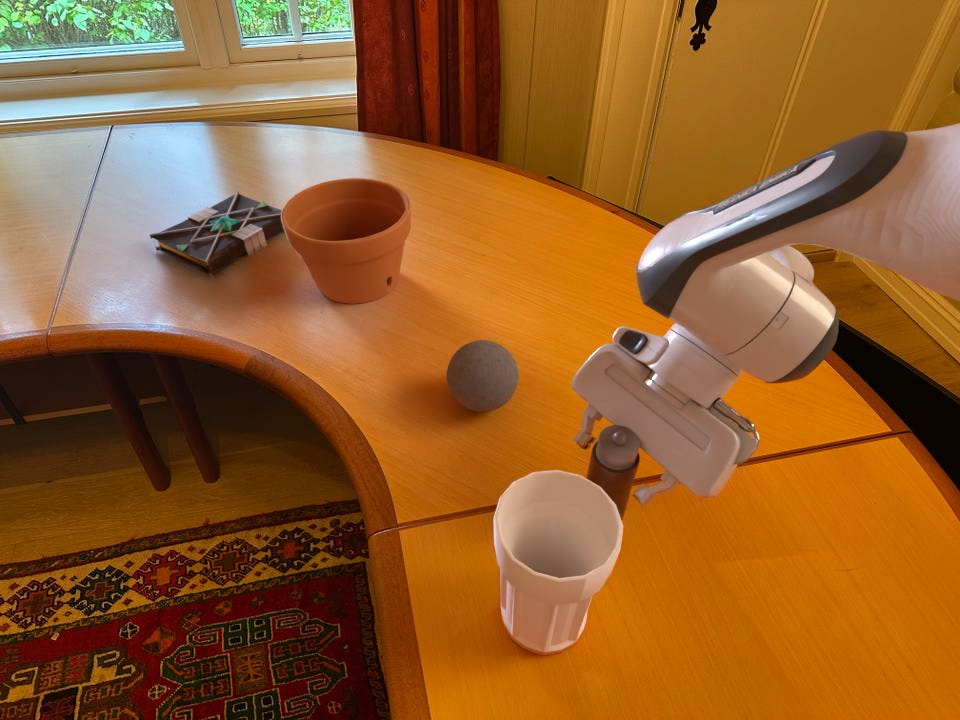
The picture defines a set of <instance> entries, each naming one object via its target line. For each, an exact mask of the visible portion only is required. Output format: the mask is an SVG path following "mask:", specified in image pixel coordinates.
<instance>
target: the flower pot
mask: <svg viewBox="0 0 960 720" xmlns="http://www.w3.org/2000/svg"><path fill="white" fill-rule="evenodd" d="M411 209H412V205H411V201H410V198H409V197H408V195H407V194H406V193H405V192H404V190H402V189H401V188H399V187H398V186H396V185H394V184H392V183H390V182H386V181H382V180H378V179H375V178H374V179H373V178H365V177H351V178H339V179H332V180H328V181H324V182H320V183H317V184H314V185H312V186H309V187H306V188H304V189H303V190H301V191H299V192H297V193H296V194H294V195H293V196H292V197H291V198H290V199H288V200H287V201H286V203H285V204H284V205H283V207H282V209H281V210H282V211H281V222H282V225H283V228H284V231H283V232H284V234H285V237H286V239H287V242H288V244H289V246H290V248H291V249H292V250H293V251H294V252H295V253H296V254H298V255H299V256H300V258H301V261H302V262H303V263H304V265H305V267H306V268H307V271H308V272H309V274H310V276H311V279H312V280H313V282H314V283H315V285H316V287H317V288H318V290H319V291H320V292H321V294H322V295H324V296H325V297H326V298H328V299H330V300H332V301H334V302H337V303H342V304H348V305H350V304H353V305H354V304H355V305H357V304H364V303H365V304H366V303H371V302H373V301H376V300H379V299H381V298H382V297H385V296H386V295H388V294H389V293H390V292H391V291H393V290H394V288H395V287H396V285H397V283H398V281H399V277H400V274H401V273H400V272H401V268H402V267H401V266H402V261H403V257H404V250H405V245H406V240H407V238H408V237H409V236H410V232H411V229H412V210H411Z"/></svg>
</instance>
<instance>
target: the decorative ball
mask: <svg viewBox="0 0 960 720" xmlns="http://www.w3.org/2000/svg"><path fill="white" fill-rule="evenodd" d="M446 370H447V371H446V383H447V387H448V391H449V392H450V394H451V396H452V397H453V399H454V401H456V402H457V403H458V404H459V405H460V406H462V407H464V408H465V409H467V410H469V411H473V412H476V413H477V412H478V413H488V412H493V411H495V410H498V409H500V408H502V407H503V406H505V405H506V404H507V403H508V402H509V401H510V400H511V399H512V398H513V396H514V394H515V393H516V390H517V388H518V384H519V367H518V365H517V362H516V360H515V358H514V357H513V355H512V353H511V352H510V351H509V350H508V348H506V347H504V346H503V345H502V344H499V343H497V342H495V341H493V340H488V339H487V340H486V339H480V340H472V341H470V342H467V343H466V344H464V345H462V346H461V347H459V349H457V350H456V351H455V352H454V354H452V357H451V358H450V360H449V362H448V365H447V368H446Z"/></svg>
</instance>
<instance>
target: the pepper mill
mask: <svg viewBox="0 0 960 720" xmlns="http://www.w3.org/2000/svg"><path fill="white" fill-rule="evenodd" d="M640 449H641V448H640V440H639V438H638V436H637V435H636V434H635V433H634V432H633V431H632V430H631V429H629V428H627V427H625V426H621V425H613V424H612V425H608V426H606V427H604V428H602V430H601V431H600V432H599V434H598V437H597V441H596V442H594V443H593V446H592V449H591V454H590V459H589V463H588V468H587V473H586V477H585V478H586V479H588V480H589V481H591V482H593V483H595V484H596V485H598V486H600V487H601V488H602V489H603V490H604V491H605V493H606V494H607V495H608V496H609V497H610V499H611V500H612V501H613V502H614V503H615V504H616V507H617V509H618V512H619V515H620V518H621V521H622V522H623V519H624V515H625V512H626V509H627V505H628V502H629V498H630V495H631V493H632V488H633V485H634V482H635V478H636V475H637V472H638V467H639V464H640V460H641V455H640V453H639V451H640Z"/></svg>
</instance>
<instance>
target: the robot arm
mask: <svg viewBox="0 0 960 720" xmlns="http://www.w3.org/2000/svg"><path fill="white" fill-rule="evenodd" d="M794 245H810V246H818V247H822V248H828V249H831V250H835V251H837V252H842V253H844V254H847V255H851V256H854V257H855V258H856V257H857V258H858V259H861V260H864V261H866V262H869V263H871V264H873V265H876V266H878V267H881V268H883V269H885V270H886V271H887V270H888V271H890V272H892V273H894V274H896V275H899V276H901V277H903V278H904V279H907V280H909V281H911V282H912V283H915V284H917V285H919V286H922V287H924V288H926V289H928V290H929V291H931V292H934V293H936V294H939V295H941V296H944V297H946V298H950V299H952V300H955V301H958V302H960V122H959V123H954V124H951V125H947V126H942V127H936V128H930V129H923V130H915V131H901V130H900V131H896V130H882V129H881V130H879V129H876V130H871V131H870V130H869V131H865V132H863V133H861V134H858V135H856V136H853V137H850V138H848V139H845V140H843V141H841V142H838V143H836V144H834V145H831V146H829V147H827V148H825V149H823V150H821V151H819V152H816V153H815V154H812V155H810V156H808V157H806V158H804V159H802V160H800V161H798V162H795V163H794V164H792V165H790V166H788V167H786V168H784V169H782V170H780V171H778V172H776V173H774V174H772V175H770V176H768V177H767V178H764V179H762V180H760V181H757V183H754V184H752V185H751V186H749V187H747V188H745V189H743V190H741V191H738V192H737V193H734V194H733V195H731V196H729V197H727V198H725V199H723V200H720V201H718V202H717V203H714V204H712V205H710V206H707V207H703V208H699V209H695V210H691V211H688V212H685V213H683V214H681V215H679V216H678V217H676V218H675V219H673V220H672V221H670V222H668V223H667V224H666V225H665V226H664V227H662V228H661V229H660V230H659V231H658V232H657V233H656V234H655V235H654V236H653V237H652V239H651V240H650V241H649V242H648V243H647V245H646V246H645V248H644V250H643V251H642V254H641V255H640V257H639V259H638V261H637V262H636V266H635V274H636V275H635V276H636V283H637V287H638V293H639V295H640V299H641V303H642V305H644V306H646V307H647V308H649V309H651V310H652V311H654V312H656V313H657V314H659V315H660V316H662V317H663V318H666V319H668V320H669V319H670V320H671V321H672V322H674V323H673V324H672V326H670V327H669V329H668V330H667V332H666V333H665V334H664V335H663V336H661V335H656V334H654V333H649V332H645V331H643V330H638V329H635V328H632V327H628V326H624V325H623V326H622V325H621V326H619V327H618V328H616V330H615V331H614V333H613V334H612V337H611V340H612V342H613V343H606V344H603V345H601V346H599V347H598V348H597V349H596V350H595V351H593V353H592V354H591V355H590V356H589V357H588V358H587V359H586V360H585V362H584V363H583V364H582V365H581V366H580V367H579V369H578V370H577V371H576V373H575V374H574V375H573V376H572V377H573V378H572V382H571V389H572V391H573V392H575V393H576V394H577V395H578V396H579V397H580V398H581V399H583V400H584V401H585V402H586V403H587V404H588V405H587V406H586V407H585V409H584V410H583V411H582V418H581V425H580V430H579V431H578V432H577V434H576V435H575V436H574V437H573V442H574V443H575V444H576V445H577V446H578V447H579V448H580V449H582V450H585V451H587V450H589V449H590V448H591V447H592V444H595V441H596V440H597V438H596V437H595V436H594V435H593V431H594V427H595V422H596V421H599V422H600V421H601V420H602V418H605V419H606V420H607V421H608V422H609V423H611V424H612V425H621V426H625V427H627V428H629V429H631V430H632V431H633V432H634V433H635V434H636V435H637V436H638V438H639V440H640V448H639V449H640V450H642V451H643V452H644V453H645V454H647V455H648V456H649V457H650V458H652V459H653V461H655V462H656V463H657V464H658V465H660V466H661V467H662V468H663V469H664V470H665V471H664V472H663V473H662V475H660V477H659V478H660V480H661V481H662V482H659V483H658V484H655V485H652V486H650V485H649V484H645V483H641V484H640V485H639V486H637V490H635V491H634V492H633V493H632V497H633V498H634V499H635V500H636V501H637V502H638V503H640V504H641V505H642V506H644V507H645V506H646V507H647V506H648V505H650V504H651V503H652V501H653V500H655V498H656V496H657V495H661V494H664V493H667V492H671V491H673V490H676V489H677V488H678V487H679V486H680V485H681V484H682V485H683V486H684V487H685V488H686V489H688V491H690V492H691V493H693V495H694V496H696V497H698V498H701V499H710V498H715V497H717V496H718V495H719V494H720V493H721V491H723V489H724V487H725V486H726V485H727V483H728V482H729V481H730V479H731V477H732V476H733V474H734V472H735V471H736V469H737V467H738V465H741V464H745V463H746V462H747V461H749V459H750V458H751V457H752V455H754V453H755V452H756V451H757V450H758V448H759V446H760V435H759V433H758V431H757V430H756V429H755V428H756V425H755V424H754V422H753V421H752V420H750V419H749V418H748V417H745V416H743V415H741V414H740V413H739V412H738V411H736V410H735V409H734V407H732V406H731V405H729V404H728V403H727V402H725V401H724V400H722V399H723V398H724V397H725V396H726V395H727V394H728V392H729V391H730V390H731V389H732V387H733V386H734V385H735V383H736V382H737V381H739V378H741V375H742V373H743V372H744V373H745V374H747V375H749V376H750V377H752V378H755V379H757V380H760V381H763V382H764V383H765V384H784V383H785V384H786V383H789V382H795V381H799V380H801V379H804V378H806V377H807V376H809V375H810V374H811V373H812V372H814V371H815V370H816V369H817V368H818V367H819V366H820V365H821V363H822V362H824V360H825V359H826V358H827V356H828V355H829V354H830V353H831V351H832V350H833V348H834V347H835V344H836V343H837V340H838V334H839V329H840V328H839V327H840V326H839V325H840V319H839V313H838V309H837V307H836V305H834V304H833V303H832V301H831V300H830V299H829V298H828V296H826V295H825V294H824V293H823V292H822V291H821V290H820V289H819V288H818V287H817V285H815V284H814V282H813V281H814V277H815V269H814V267H813V264H812V263H811V261H810V259H808V257H807V256H806V255H805V254H803V253H802V252H801V251H800V250H798V249H797V248H795V247H794ZM750 433H752V434H753V435H751V434H750Z"/></svg>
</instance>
